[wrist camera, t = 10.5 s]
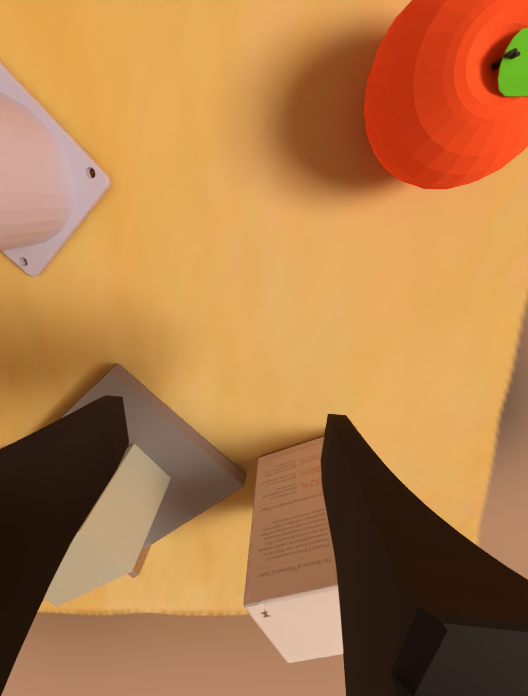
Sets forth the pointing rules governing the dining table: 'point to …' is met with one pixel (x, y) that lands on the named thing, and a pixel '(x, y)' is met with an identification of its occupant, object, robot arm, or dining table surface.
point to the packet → (112, 529)
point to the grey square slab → (169, 455)
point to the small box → (293, 557)
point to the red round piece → (450, 91)
